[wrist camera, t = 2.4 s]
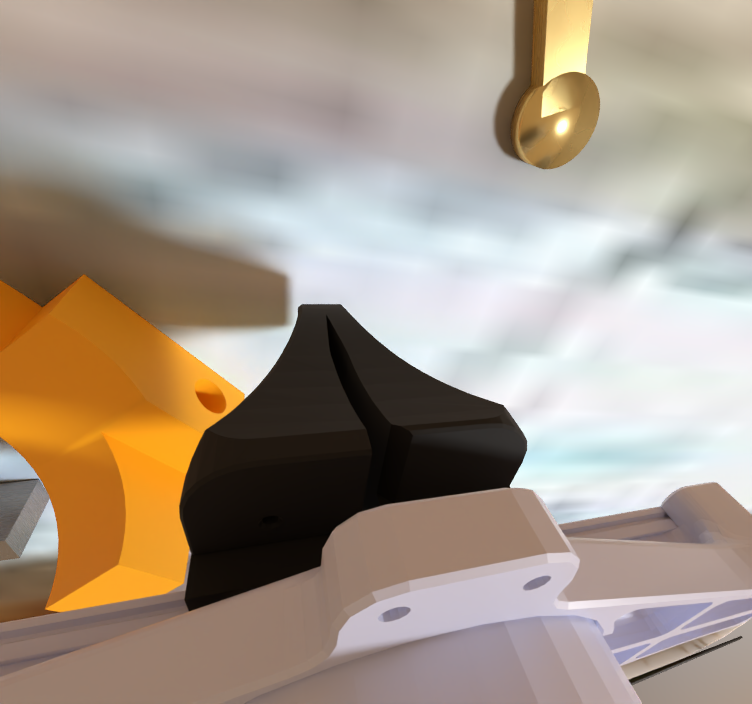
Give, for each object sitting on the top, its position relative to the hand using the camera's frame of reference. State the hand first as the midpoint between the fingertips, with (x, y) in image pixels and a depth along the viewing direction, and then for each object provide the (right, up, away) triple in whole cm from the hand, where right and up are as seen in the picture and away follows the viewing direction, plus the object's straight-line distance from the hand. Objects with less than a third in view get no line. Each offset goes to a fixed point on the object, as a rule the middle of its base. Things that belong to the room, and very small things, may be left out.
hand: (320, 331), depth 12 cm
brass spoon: (+6, +8, -2) cm, 11 cm away
